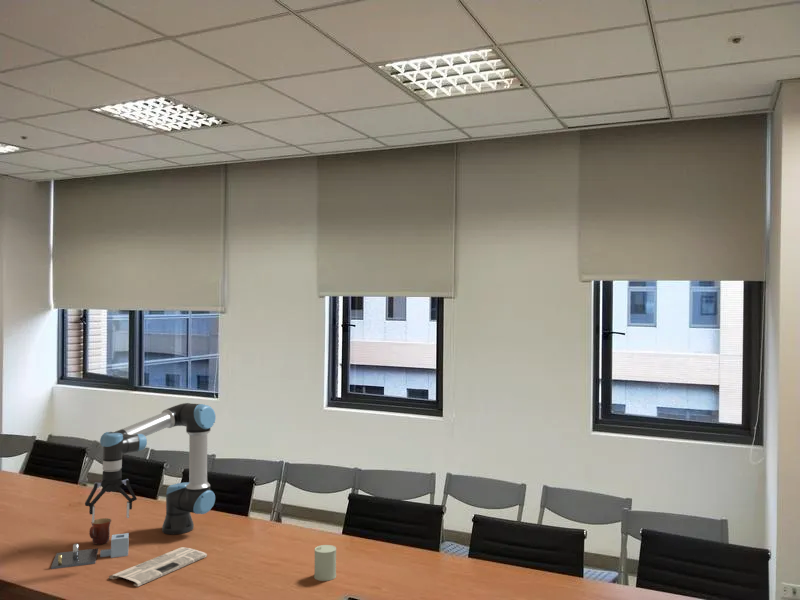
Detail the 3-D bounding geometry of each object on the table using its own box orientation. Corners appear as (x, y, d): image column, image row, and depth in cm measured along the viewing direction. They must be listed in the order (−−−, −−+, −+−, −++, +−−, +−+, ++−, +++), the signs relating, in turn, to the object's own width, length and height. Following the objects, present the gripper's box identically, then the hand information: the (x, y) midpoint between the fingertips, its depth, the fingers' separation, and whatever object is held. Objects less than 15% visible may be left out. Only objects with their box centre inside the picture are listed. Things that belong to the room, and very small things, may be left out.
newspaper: (137, 589, 249) (138, 581, 249) (106, 579, 258) (106, 572, 258) (206, 558, 281) (207, 552, 281) (176, 550, 291) (176, 544, 291)
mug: (98, 538, 305) (99, 517, 305) (114, 540, 303) (115, 518, 303) (81, 547, 293) (82, 525, 293) (98, 549, 291) (98, 526, 291)
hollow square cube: (128, 550, 289) (128, 533, 290) (127, 555, 283) (128, 537, 283) (100, 553, 285) (101, 536, 285) (99, 559, 279) (100, 541, 279)
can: (314, 572, 265) (314, 543, 265) (336, 571, 266) (336, 543, 266) (313, 581, 256) (313, 551, 256) (336, 580, 257) (336, 551, 257)
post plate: (98, 550, 289) (98, 536, 289) (95, 563, 273) (95, 548, 274) (56, 555, 283) (57, 540, 283) (51, 569, 267) (51, 553, 267)
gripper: (141, 465, 280) (140, 513, 279) (79, 470, 268) (77, 521, 267) (144, 468, 273) (142, 517, 272) (80, 474, 261) (78, 526, 260)
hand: (110, 519), depth 269 cm, fingers open, 13 cm apart
